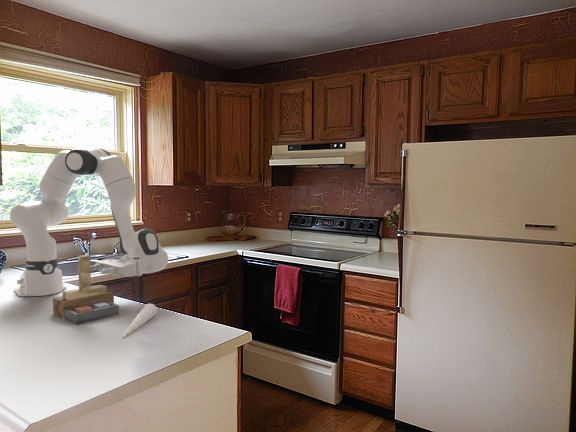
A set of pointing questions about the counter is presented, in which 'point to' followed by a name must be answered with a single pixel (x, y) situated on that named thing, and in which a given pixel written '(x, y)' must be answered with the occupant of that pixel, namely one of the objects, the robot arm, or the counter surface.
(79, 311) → the salmon orange block
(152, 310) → the unicorn horn
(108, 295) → the wide wooden plinth
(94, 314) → the bin
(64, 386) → the counter surface
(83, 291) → the wooden inverted t block
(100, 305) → the pale blue-grey cube
